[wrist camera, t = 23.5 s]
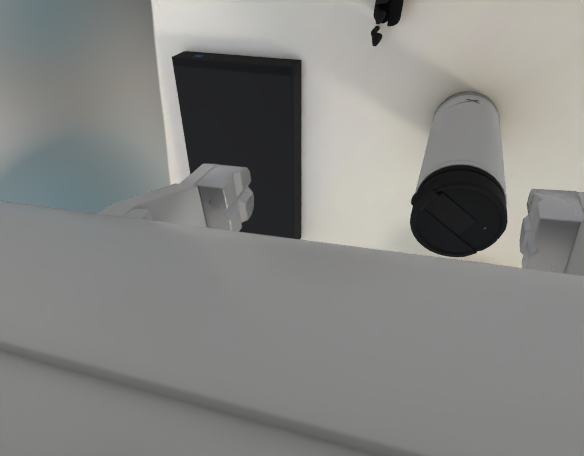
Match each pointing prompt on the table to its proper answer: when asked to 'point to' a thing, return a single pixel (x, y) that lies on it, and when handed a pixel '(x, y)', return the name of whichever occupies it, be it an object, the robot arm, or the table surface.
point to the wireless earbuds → (385, 16)
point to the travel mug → (461, 179)
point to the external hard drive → (247, 129)
